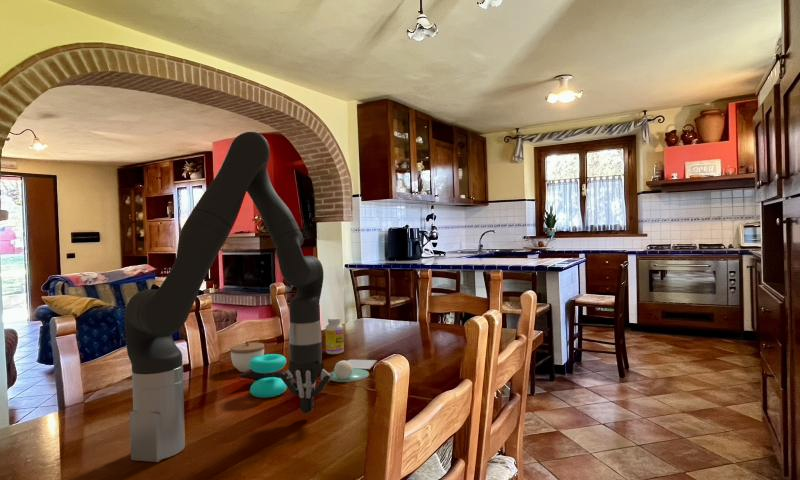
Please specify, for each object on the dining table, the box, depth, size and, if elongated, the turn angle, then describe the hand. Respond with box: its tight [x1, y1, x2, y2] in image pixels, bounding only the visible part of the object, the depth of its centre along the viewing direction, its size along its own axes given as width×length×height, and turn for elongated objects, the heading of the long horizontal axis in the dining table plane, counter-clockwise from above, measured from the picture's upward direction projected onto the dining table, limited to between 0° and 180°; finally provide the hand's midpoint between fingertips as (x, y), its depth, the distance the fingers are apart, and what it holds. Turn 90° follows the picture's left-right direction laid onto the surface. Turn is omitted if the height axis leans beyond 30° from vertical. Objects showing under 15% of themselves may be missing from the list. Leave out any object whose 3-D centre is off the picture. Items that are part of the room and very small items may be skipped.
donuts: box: [249, 353, 288, 399], centre depth 129 cm, size 10×10×10 cm
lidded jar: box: [230, 340, 265, 373], centre depth 153 cm, size 11×11×9 cm
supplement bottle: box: [324, 316, 345, 355], centre depth 173 cm, size 7×7×13 cm
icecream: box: [238, 369, 283, 382], centre depth 138 cm, size 7×7×15 cm
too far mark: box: [347, 359, 378, 370], centre depth 156 cm, size 10×10×1 cm
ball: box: [333, 359, 353, 380], centre depth 140 cm, size 6×6×6 cm
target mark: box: [329, 369, 370, 383], centre depth 144 cm, size 13×13×1 cm
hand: (307, 412), depth 110 cm, fingers closed
